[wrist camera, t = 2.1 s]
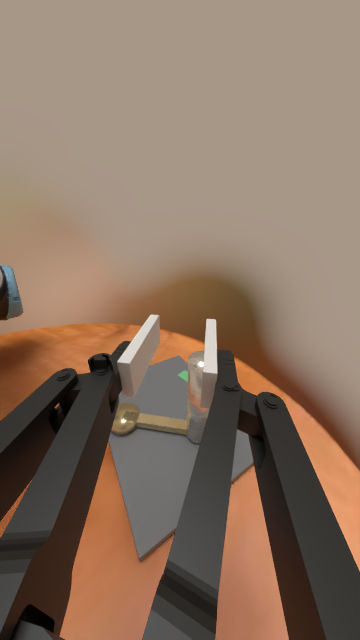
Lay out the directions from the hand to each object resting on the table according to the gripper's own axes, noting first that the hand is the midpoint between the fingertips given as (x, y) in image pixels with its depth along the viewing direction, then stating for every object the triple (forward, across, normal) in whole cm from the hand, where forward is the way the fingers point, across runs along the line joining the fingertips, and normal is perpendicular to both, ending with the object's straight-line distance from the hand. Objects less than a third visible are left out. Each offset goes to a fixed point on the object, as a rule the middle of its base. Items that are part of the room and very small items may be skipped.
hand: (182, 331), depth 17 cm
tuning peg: (+5, -3, -20) cm, 21 cm away
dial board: (+8, -3, -22) cm, 24 cm away
